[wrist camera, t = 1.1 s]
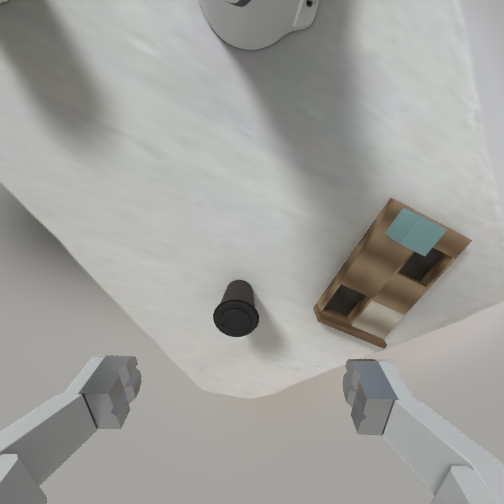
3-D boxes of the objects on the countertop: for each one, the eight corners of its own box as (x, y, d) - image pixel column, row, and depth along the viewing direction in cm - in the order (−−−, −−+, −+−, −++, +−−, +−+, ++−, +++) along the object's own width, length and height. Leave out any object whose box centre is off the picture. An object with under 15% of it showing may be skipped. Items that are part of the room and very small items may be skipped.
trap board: (390, 198, 43) (403, 203, 39) (461, 235, 46) (480, 244, 42) (313, 308, 53) (317, 321, 49) (375, 334, 55) (384, 348, 51)
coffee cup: (212, 290, 52) (202, 322, 42) (239, 266, 49) (235, 294, 40) (239, 313, 54) (236, 348, 45) (267, 291, 51) (268, 323, 42)
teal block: (403, 207, 41) (421, 215, 37) (426, 220, 42) (447, 229, 38) (384, 233, 43) (399, 243, 39) (407, 244, 44) (424, 256, 39)
